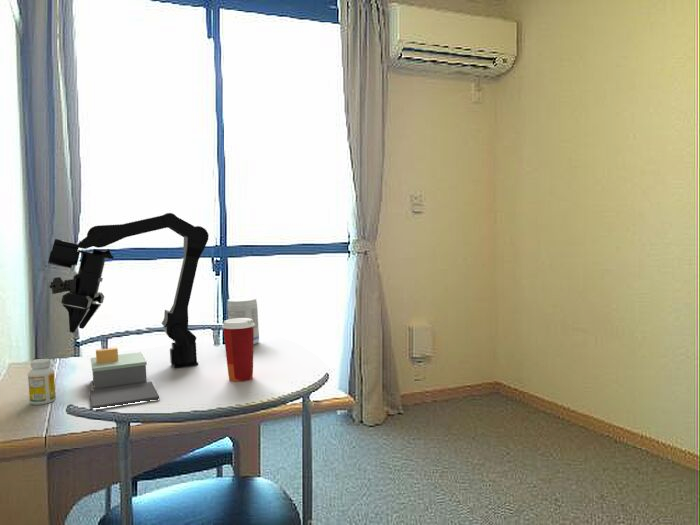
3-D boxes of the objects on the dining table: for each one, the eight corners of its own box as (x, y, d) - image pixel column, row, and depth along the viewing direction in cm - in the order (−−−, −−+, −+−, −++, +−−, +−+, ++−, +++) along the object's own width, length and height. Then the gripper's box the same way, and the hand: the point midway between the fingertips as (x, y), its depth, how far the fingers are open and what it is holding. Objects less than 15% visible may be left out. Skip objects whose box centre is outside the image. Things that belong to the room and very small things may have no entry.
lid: (141, 358, 159) (140, 341, 159) (146, 368, 148) (145, 349, 147) (91, 364, 154) (89, 346, 153) (92, 375, 143) (91, 356, 142)
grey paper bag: (250, 339, 200) (248, 295, 199) (264, 343, 193) (262, 298, 192) (223, 343, 194) (221, 299, 193) (238, 348, 187) (236, 301, 185)
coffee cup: (262, 375, 154) (260, 317, 152) (247, 384, 146) (244, 323, 145) (234, 373, 156) (231, 317, 155) (217, 381, 149) (214, 322, 147)
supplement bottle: (35, 406, 133) (32, 364, 132) (25, 402, 136) (22, 361, 136) (60, 400, 137) (57, 359, 136) (50, 396, 140) (47, 356, 140)
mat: (151, 385, 147) (151, 381, 147) (159, 400, 135) (159, 396, 135) (90, 394, 141) (90, 390, 141) (92, 410, 129) (91, 406, 129)
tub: (141, 373, 159) (140, 355, 159) (146, 384, 148) (145, 364, 148) (93, 380, 154) (91, 361, 154) (94, 391, 143) (93, 371, 143)
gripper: (68, 265, 164) (55, 320, 163) (46, 266, 146) (32, 328, 145) (110, 273, 166) (97, 328, 165) (94, 275, 148) (79, 337, 147)
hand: (76, 330), depth 156 cm, fingers open, 9 cm apart
